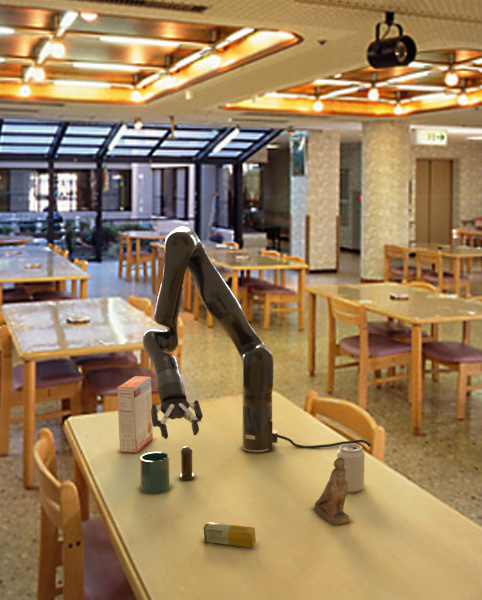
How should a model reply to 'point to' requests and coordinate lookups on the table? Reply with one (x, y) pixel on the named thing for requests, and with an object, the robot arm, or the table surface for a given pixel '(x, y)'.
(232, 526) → the medication box
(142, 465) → the cup
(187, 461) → the game pawn
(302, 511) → the table surface
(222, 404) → the table surface
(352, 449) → the can
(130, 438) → the cracker box
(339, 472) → the worn brown figurine
